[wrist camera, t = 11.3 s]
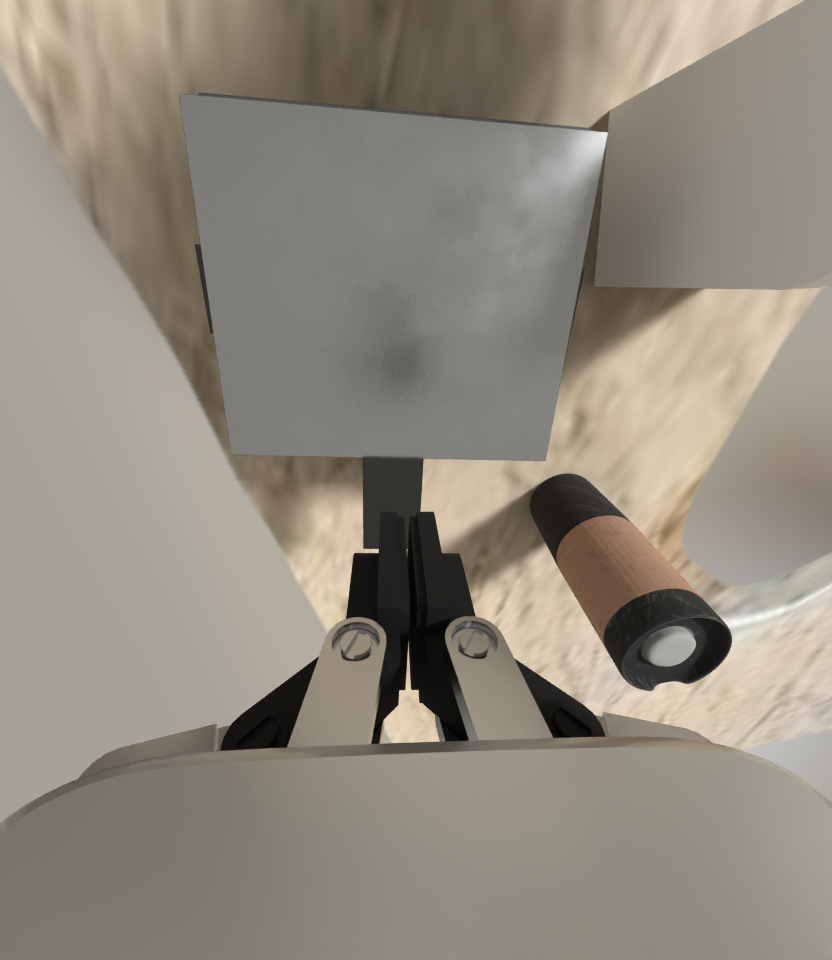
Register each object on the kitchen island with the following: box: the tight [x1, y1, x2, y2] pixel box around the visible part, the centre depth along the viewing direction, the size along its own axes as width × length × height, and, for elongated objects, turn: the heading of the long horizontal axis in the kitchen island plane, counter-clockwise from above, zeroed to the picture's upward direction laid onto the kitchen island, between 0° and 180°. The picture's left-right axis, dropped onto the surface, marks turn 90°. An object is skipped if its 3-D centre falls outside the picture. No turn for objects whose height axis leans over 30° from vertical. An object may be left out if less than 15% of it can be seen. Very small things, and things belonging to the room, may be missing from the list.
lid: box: [179, 94, 608, 549], centre depth 25 cm, size 21×25×2 cm
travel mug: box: [530, 474, 732, 691], centre depth 36 cm, size 8×8×20 cm
